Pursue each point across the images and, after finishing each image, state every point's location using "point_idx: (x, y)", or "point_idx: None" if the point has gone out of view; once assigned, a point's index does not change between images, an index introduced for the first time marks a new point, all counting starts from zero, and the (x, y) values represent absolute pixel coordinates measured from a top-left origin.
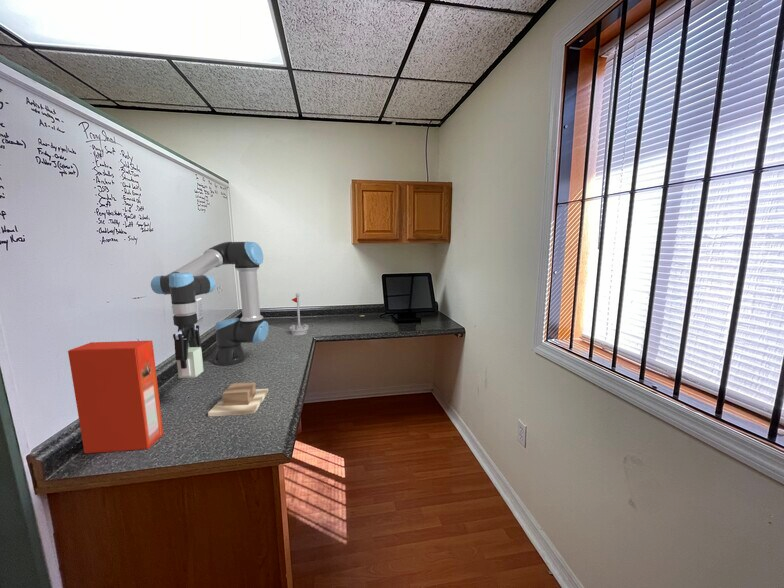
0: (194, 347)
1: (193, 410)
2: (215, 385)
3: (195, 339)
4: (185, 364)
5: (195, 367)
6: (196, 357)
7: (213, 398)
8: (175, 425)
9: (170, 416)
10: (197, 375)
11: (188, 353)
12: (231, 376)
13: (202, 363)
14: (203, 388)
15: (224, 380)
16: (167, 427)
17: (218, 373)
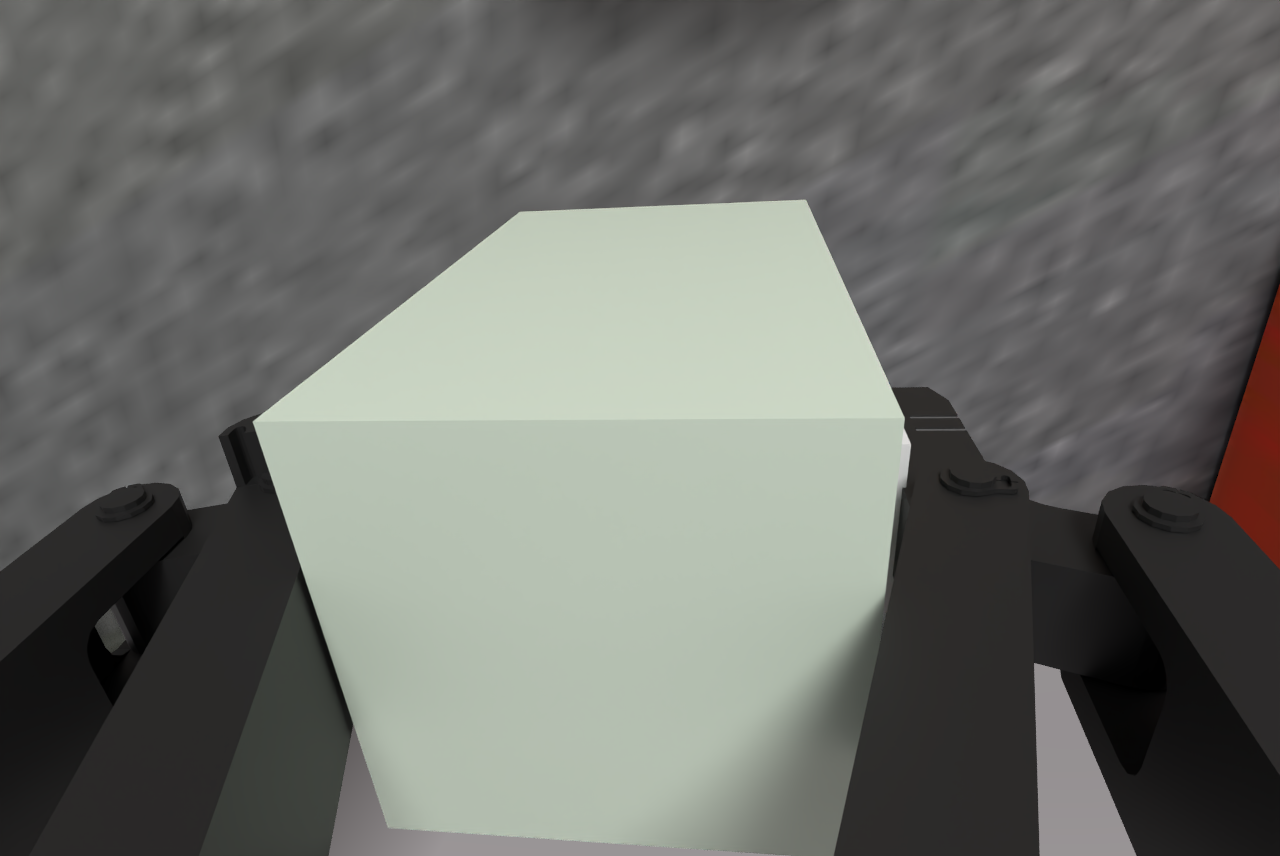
0: (348, 607)
1: (838, 156)
2: (270, 231)
3: (71, 854)
4: (932, 429)
5: (784, 245)
6: (689, 315)
7: (571, 77)
8: (1142, 167)
9: (925, 320)
10: (735, 204)
11: (882, 540)
12: (27, 163)
13: (485, 247)
14: (354, 321)
15: (139, 193)
16: (1159, 226)
17: (14, 349)
